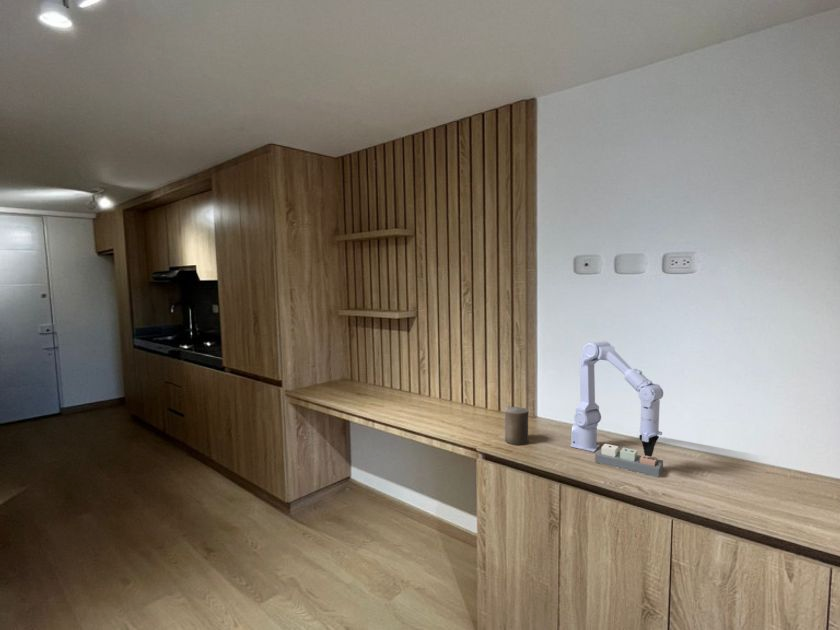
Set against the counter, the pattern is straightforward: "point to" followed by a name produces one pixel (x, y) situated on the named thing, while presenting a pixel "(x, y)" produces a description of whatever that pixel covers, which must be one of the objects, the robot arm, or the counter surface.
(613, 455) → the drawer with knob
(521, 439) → the pillar candle
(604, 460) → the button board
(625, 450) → the tile
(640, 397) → the robot arm
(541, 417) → the counter surface
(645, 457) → the three-pip tile
